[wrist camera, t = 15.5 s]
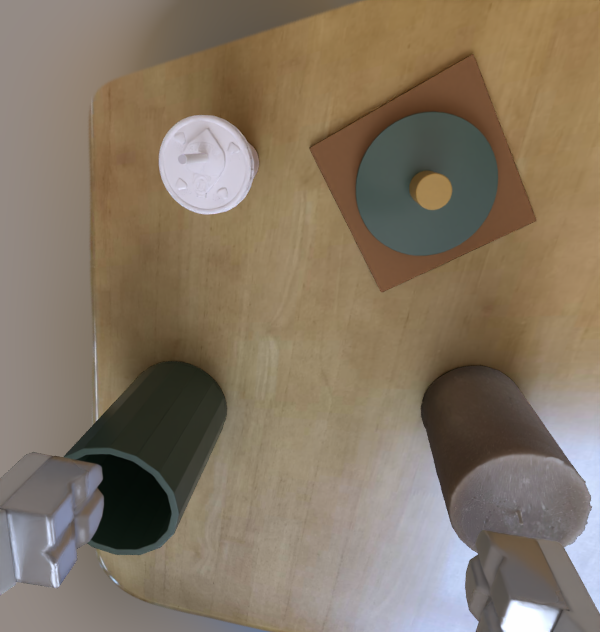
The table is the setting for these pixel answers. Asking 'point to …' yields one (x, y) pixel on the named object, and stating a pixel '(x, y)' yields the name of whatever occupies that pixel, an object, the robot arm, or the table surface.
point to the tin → (152, 454)
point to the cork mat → (432, 95)
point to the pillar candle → (500, 461)
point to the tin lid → (426, 183)
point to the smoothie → (207, 164)
